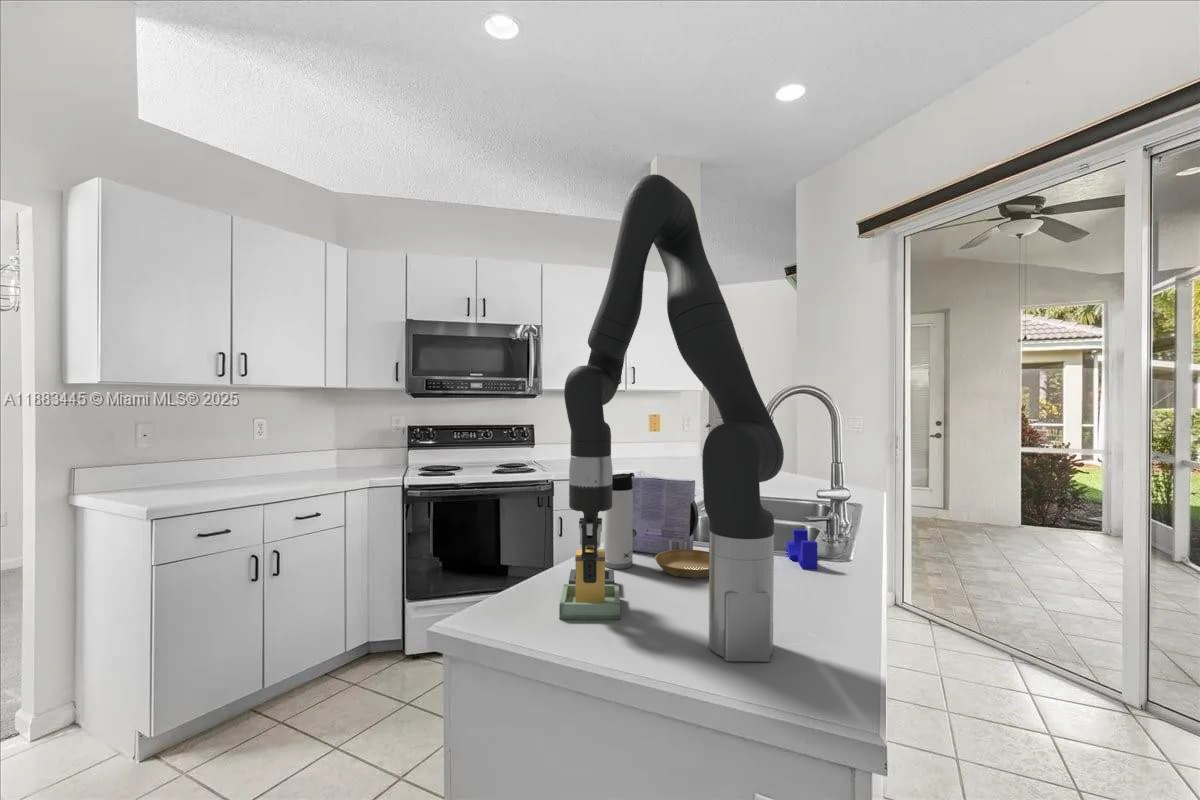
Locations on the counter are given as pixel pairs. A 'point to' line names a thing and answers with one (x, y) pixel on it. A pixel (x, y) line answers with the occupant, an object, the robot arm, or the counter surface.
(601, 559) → the block
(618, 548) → the travel mug
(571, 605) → the parts tray
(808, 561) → the cable clip
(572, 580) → the frame
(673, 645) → the counter surface
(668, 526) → the cake pan box
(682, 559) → the plant saucer
